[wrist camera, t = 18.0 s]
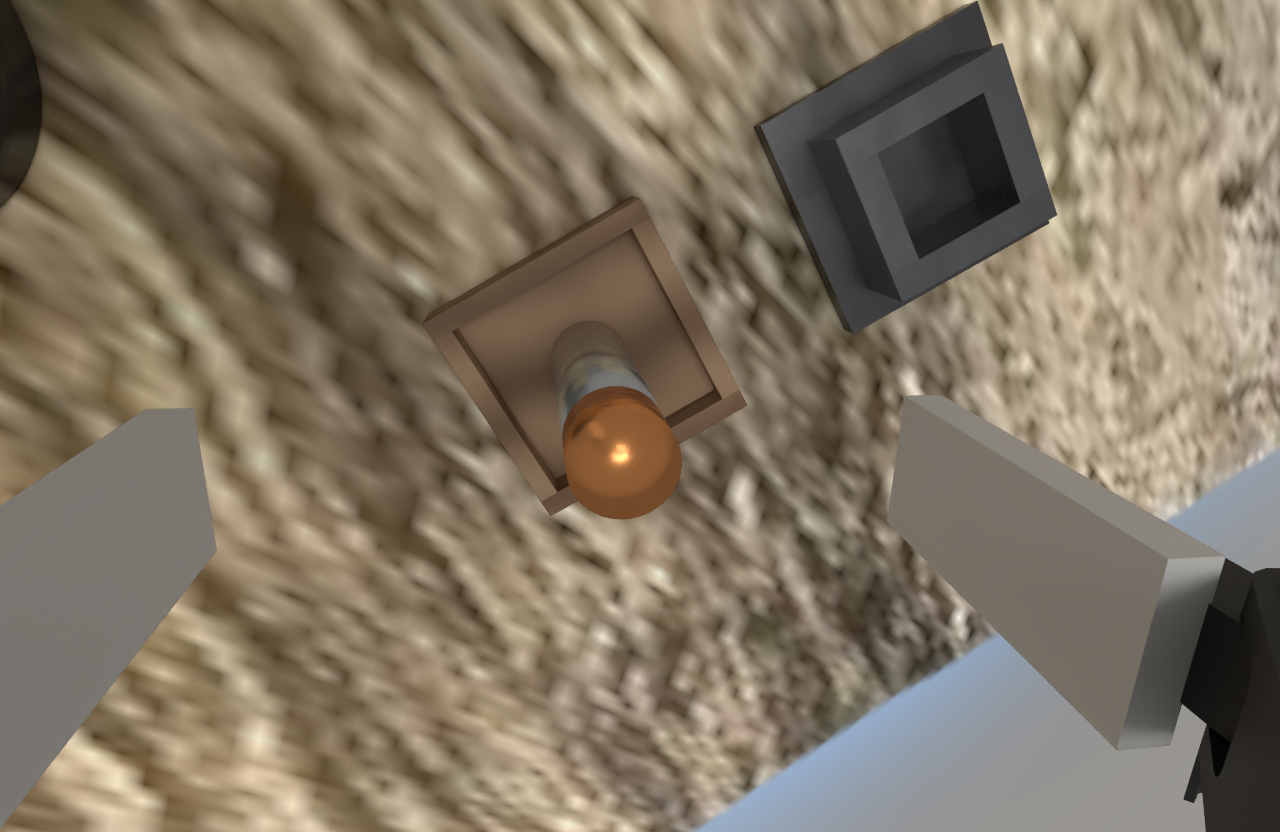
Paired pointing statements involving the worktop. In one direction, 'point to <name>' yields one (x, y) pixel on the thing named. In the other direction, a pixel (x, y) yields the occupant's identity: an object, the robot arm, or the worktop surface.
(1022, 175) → the block
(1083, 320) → the worktop surface
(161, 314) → the worktop surface
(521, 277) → the tray
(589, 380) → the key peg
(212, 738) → the worktop surface
